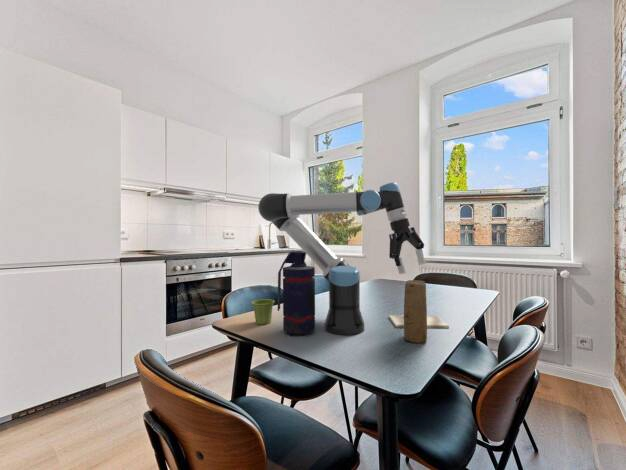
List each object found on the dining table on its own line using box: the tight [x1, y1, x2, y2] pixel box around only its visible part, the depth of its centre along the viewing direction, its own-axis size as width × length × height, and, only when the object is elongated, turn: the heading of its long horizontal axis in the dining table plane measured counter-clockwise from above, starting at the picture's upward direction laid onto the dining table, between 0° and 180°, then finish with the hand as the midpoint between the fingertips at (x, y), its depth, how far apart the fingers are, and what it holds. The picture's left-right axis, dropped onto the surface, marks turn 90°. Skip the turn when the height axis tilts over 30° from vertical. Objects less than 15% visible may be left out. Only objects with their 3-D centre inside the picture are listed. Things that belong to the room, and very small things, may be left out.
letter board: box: [388, 314, 450, 329], centre depth 124 cm, size 20×14×1 cm
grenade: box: [276, 250, 316, 337], centre depth 113 cm, size 14×12×30 cm
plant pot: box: [251, 298, 275, 325], centre depth 125 cm, size 9×9×9 cm
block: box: [403, 279, 428, 344], centre depth 105 cm, size 11×8×20 cm
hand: (412, 268), depth 126 cm, fingers open, 13 cm apart
